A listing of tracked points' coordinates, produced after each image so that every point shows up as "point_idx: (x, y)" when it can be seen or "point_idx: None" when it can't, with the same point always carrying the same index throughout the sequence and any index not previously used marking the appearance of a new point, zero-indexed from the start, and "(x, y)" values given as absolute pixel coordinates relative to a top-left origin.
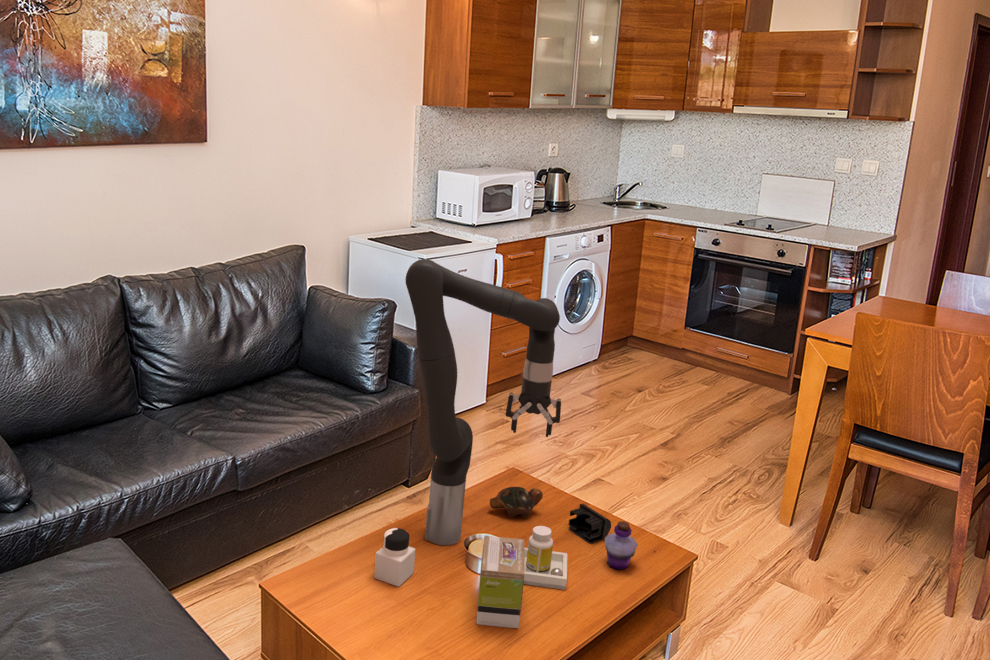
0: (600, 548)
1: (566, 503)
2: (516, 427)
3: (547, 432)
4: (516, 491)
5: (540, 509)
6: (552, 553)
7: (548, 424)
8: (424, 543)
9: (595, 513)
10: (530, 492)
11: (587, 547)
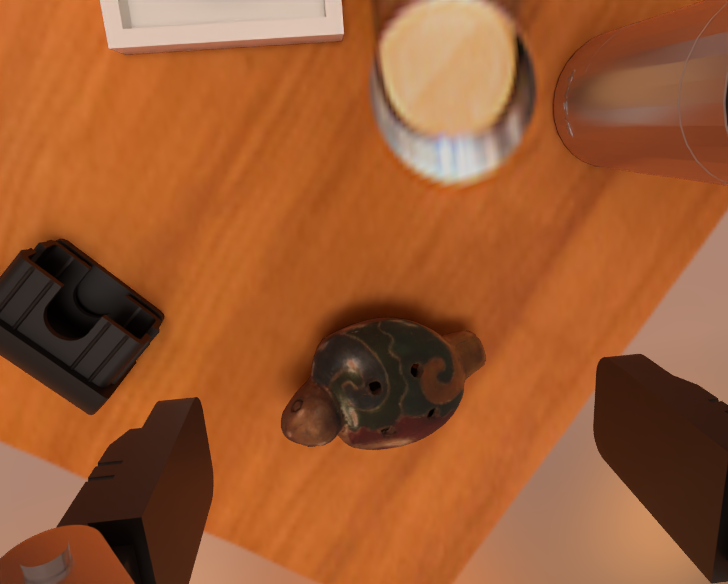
0: (15, 217)
1: None
2: (619, 452)
3: (159, 431)
4: (392, 387)
5: None
6: (171, 26)
7: (112, 525)
8: None
9: (20, 339)
10: (332, 413)
11: (66, 208)
